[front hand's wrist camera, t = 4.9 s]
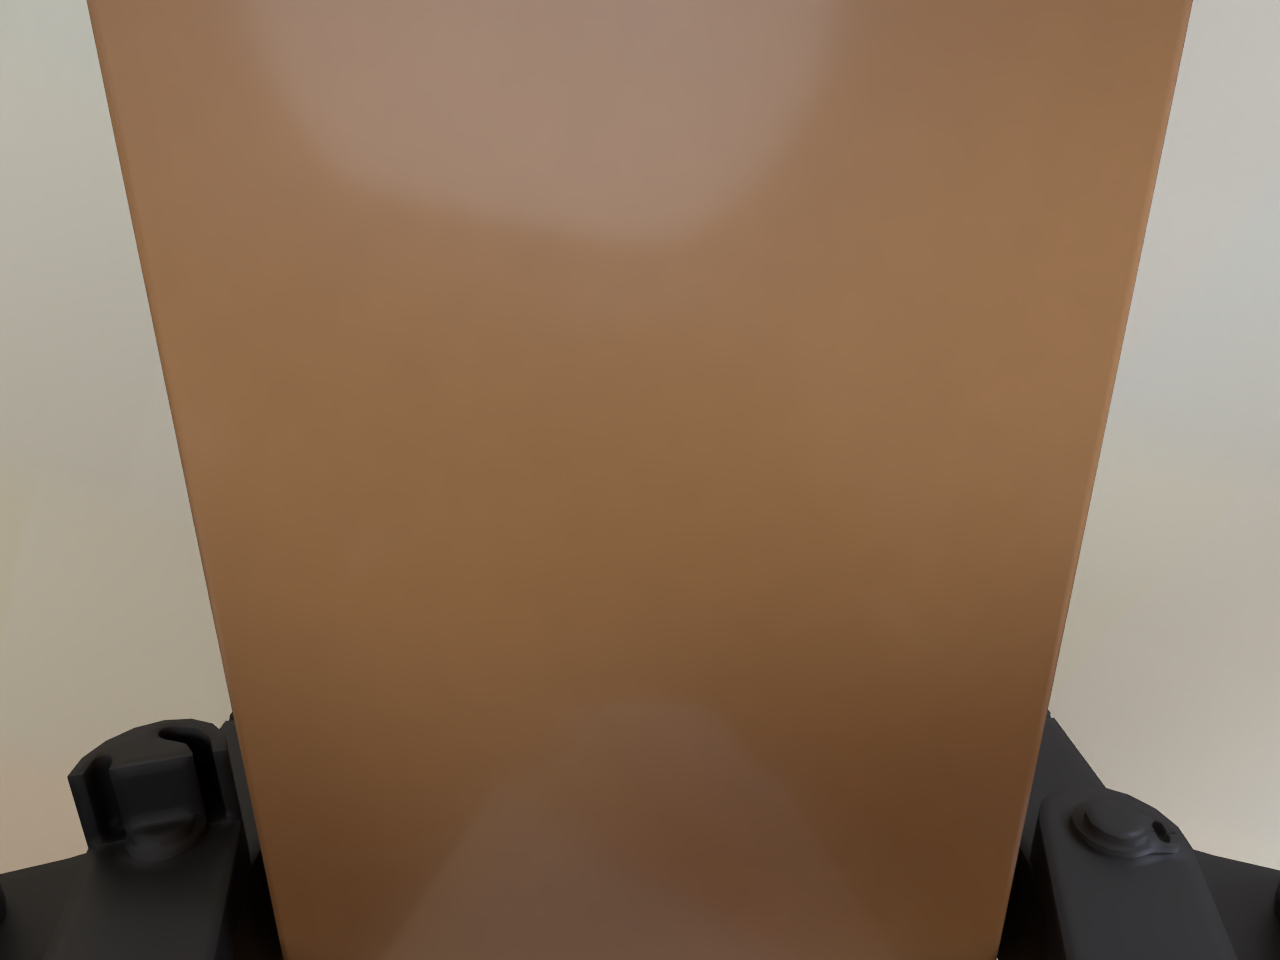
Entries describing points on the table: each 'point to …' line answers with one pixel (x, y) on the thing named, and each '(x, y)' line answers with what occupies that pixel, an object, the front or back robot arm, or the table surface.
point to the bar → (639, 445)
